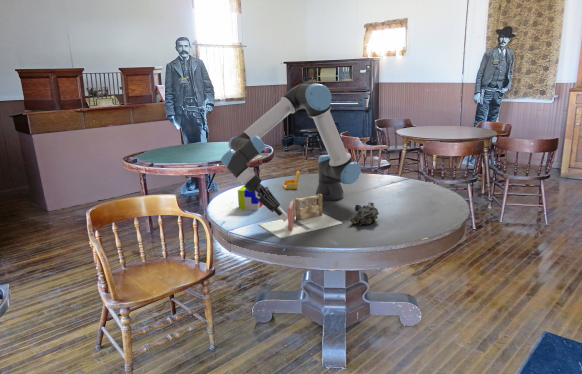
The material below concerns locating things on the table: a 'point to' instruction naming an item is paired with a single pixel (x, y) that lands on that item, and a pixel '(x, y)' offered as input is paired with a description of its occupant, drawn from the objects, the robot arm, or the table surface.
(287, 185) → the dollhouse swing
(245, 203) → the puzzle toy
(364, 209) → the mineral specimen
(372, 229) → the table surface
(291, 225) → the hinged fence half
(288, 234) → the card
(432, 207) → the table surface
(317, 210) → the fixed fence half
